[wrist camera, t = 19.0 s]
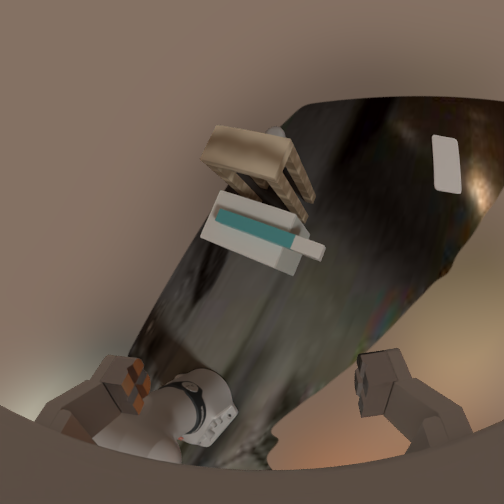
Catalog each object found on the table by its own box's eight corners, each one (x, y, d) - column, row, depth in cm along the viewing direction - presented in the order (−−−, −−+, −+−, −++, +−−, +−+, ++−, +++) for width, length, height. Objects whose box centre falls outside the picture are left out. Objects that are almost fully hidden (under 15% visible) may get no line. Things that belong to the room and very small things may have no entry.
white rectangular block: (293, 276, 66) (273, 267, 51) (232, 251, 72) (199, 237, 57) (310, 234, 66) (295, 214, 51) (248, 213, 72) (220, 189, 57)
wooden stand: (305, 223, 67) (274, 178, 43) (252, 205, 72) (199, 159, 48) (315, 196, 67) (290, 138, 43) (263, 180, 72) (216, 124, 48)
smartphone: (434, 189, 57) (431, 134, 59) (433, 190, 58) (431, 135, 59) (461, 194, 55) (457, 139, 56) (460, 195, 55) (456, 140, 57)
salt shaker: (288, 174, 70) (274, 149, 58) (271, 162, 72) (254, 136, 60) (303, 157, 70) (292, 129, 58) (286, 145, 72) (272, 117, 60)
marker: (320, 261, 48) (318, 259, 46) (220, 223, 56) (214, 220, 54) (325, 248, 48) (324, 245, 46) (225, 212, 56) (220, 208, 54)
